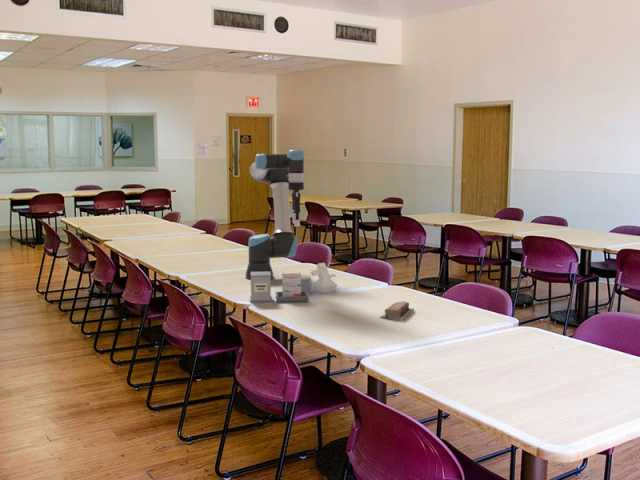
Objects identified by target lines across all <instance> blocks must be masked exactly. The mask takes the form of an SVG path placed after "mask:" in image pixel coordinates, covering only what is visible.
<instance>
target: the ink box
mask: <svg viewBox="0 0 640 480" xmlns="http://www.w3.org/2000/svg"><path fill="white" fill-rule="evenodd" d="M301 275H302V273H301V272H295V271H294V272H289V271H288V272H286V271H284V272H282V274H281V277H282V281H281V283H282V286H281V287H282V291H281V292H282V297H294V296H301Z"/></svg>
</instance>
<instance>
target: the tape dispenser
mask: <svg viewBox="0 0 640 480" xmlns="http://www.w3.org/2000/svg"><path fill="white" fill-rule="evenodd" d="M310 274H311V276H313V277H314V276H317V277H318V279H317V280H316V281H315V282H313V283H311V292H313V293H318V294H319V293H320V294H325V293H332V292H335V291H336V288H337V287H338V283H336V282H335V281H334V280H333V279H332V278H336V277H337V274H335V273H331V274H330V272H329V269H328V268H327V265H326V262H319V263H317V265H316V270H315V269H313V270H310Z"/></svg>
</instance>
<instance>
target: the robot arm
mask: <svg viewBox="0 0 640 480" xmlns="http://www.w3.org/2000/svg"><path fill="white" fill-rule="evenodd" d="M304 159H305V155H304V150H302V149H290V150H289V151H288V153H257V154H256V155H255V158H254V162H253V163H251V165H250V166H249V168H248V173H249V175H250V178H252V179H253V180H255V181H256V182H260V183H269V186H270V187H271V188H272V193H273V194H272V196H273V209H274V211H273V213H274V214H273V215H274V226H275V227H274V232H273V233H272V236H270V234H269V233H262V234H256V235H253V236H250V237H249V238H248V246H247V248H248V265H247V268H246V272H245V278H246V279H248V280H251V272H270V273H271V279H273V278H274V272H273V269H272V266H271V259H275V258H276V259H278V258H279V259H281V258H282V259H283V258H286V259H287V258H294V257H295V255H296V254H297V251H298V250H297V249H298V237H297V236H296V235H295V233H294V231H293V230H292V227H291V226H292V225H291V211H290V210H291V209H290V208H292V224H294V225H293V226H294V227H296V228H297V227H301V203H300V202H301V193H300V191H303V190H304V189H305V187H304V186H305V184H304V181H305V171H304V169H305V167H304V165H305V162H304V161H305V160H304ZM289 191H292V194H291V200H292V204H291V205H292V206H291V207H290V195H289V194H290V193H289Z"/></svg>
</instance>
